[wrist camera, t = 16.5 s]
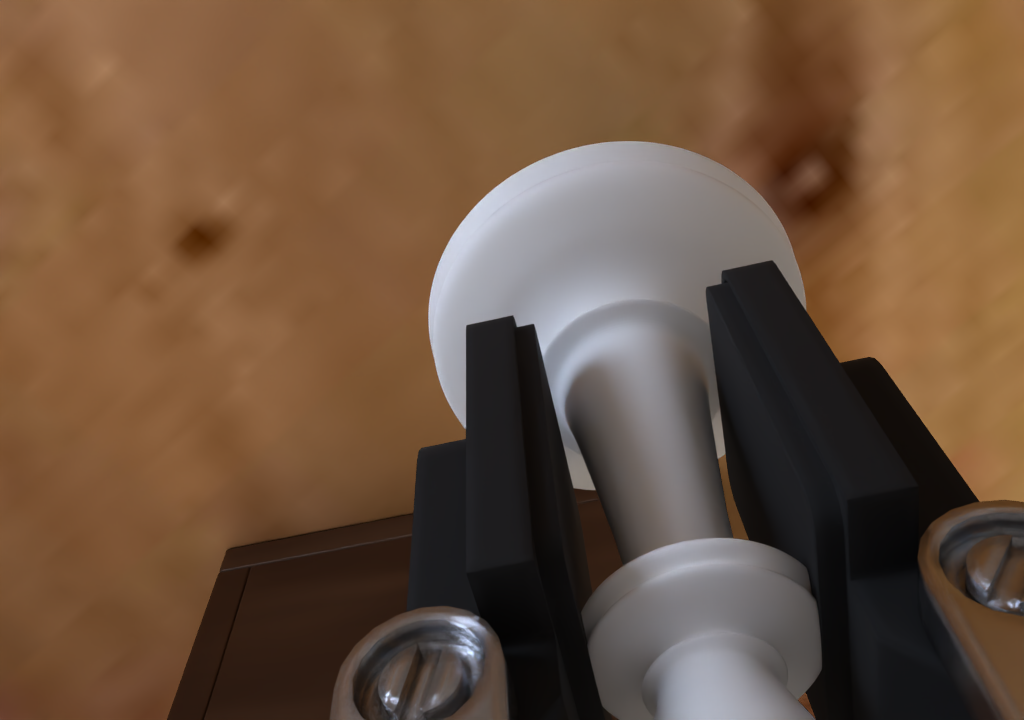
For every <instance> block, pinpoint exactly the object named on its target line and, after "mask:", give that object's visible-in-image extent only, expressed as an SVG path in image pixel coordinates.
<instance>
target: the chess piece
mask: <svg viewBox="0 0 1024 720" xmlns="http://www.w3.org/2000/svg"><path fill="white" fill-rule="evenodd" d="M770 260H773V261H774V263H775V264H776V265H777V267H778V268H779V270H780V271H781V273H782V274H783V276H784V277H785V279H786V281H787V282H788V284H789V285H790V287H791V288H792V290H793V291H794V293H795V295H796V296H797V298H798V299H799V301H800V302H801V304H802V305H803V307H804V309H805V310H806V299H805V291H804V286H803V281H802V277H801V274H800V270H799V267H798V265H797V262H796V259H795V256H794V252H793V249H792V246H791V243H790V241H789V238H788V236H787V234H786V232H785V229H784V228H783V226H782V224H781V222H780V220H779V219H778V217H777V216H776V214H775V213H774V211H773V210H772V208H771V207H770V206H769V204H768V203H767V202H766V201H765V200H764V198H763V197H762V196H761V195H760V194H759V193H758V192H757V191H756V190H755V189H754V188H753V187H752V186H751V185H750V184H748V183H747V182H746V181H745V180H744V179H742V178H741V177H740V176H738V175H737V174H736V173H734V172H733V171H731V170H730V169H728V168H726V167H725V166H723V165H721V164H719V163H717V162H716V161H714V160H711V159H709V158H707V157H705V156H702V155H700V154H697V153H695V152H692V151H689V150H686V149H682V148H678V147H674V146H670V145H665V144H659V143H652V142H640V141H616V142H604V143H597V144H591V145H586V146H581V147H577V148H573V149H569V150H566V151H563V152H560V153H557V154H554V155H551V156H549V157H546V158H544V159H542V160H539V161H537V162H535V163H533V164H531V165H529V166H527V167H525V168H524V169H522V170H520V171H518V172H517V173H515V174H514V175H512V176H511V177H509V178H508V179H506V180H505V181H503V182H502V183H501V184H499V185H498V186H497V187H495V188H494V189H493V190H492V191H491V192H489V193H488V194H487V195H486V196H485V197H484V198H483V199H482V200H481V201H480V202H479V203H478V204H477V205H476V206H475V207H474V208H473V209H472V210H471V211H470V213H469V214H468V215H467V216H466V217H465V219H464V220H463V221H462V222H461V224H460V225H459V227H458V228H457V230H456V231H455V233H454V234H453V236H452V237H451V239H450V241H449V243H448V244H447V246H446V248H445V250H444V252H443V255H442V257H441V259H440V262H439V264H438V267H437V270H436V273H435V276H434V280H433V284H432V288H431V294H430V301H429V314H428V323H429V336H430V342H431V348H432V352H433V356H434V359H435V365H436V369H437V374H438V377H439V381H440V384H441V387H442V389H443V392H444V394H445V397H446V399H447V401H448V403H449V405H450V407H451V408H452V410H453V412H454V413H455V415H456V417H457V418H458V420H459V421H460V422H461V424H462V425H463V426H464V428H465V429H466V325H469V324H474V323H479V322H484V321H488V320H493V319H498V318H502V317H507V316H512V315H513V316H514V318H515V321H516V325H517V327H520V326H525V325H529V324H534V325H535V328H536V332H537V336H538V340H539V345H540V349H541V353H542V357H543V361H544V366H545V370H546V374H547V378H548V383H549V387H550V391H551V395H552V399H553V404H554V408H555V412H556V416H557V421H558V425H559V429H560V433H561V437H562V442H563V446H564V450H565V454H566V459H567V463H568V467H569V471H570V475H571V480H572V484H573V488H576V489H584V490H596V492H597V494H598V497H599V499H600V502H601V505H602V507H603V510H604V513H605V515H606V518H607V521H608V523H609V526H610V528H611V531H612V533H613V536H614V539H615V542H616V545H617V548H618V551H619V555H620V558H621V561H622V564H623V566H622V567H621V568H619V569H618V570H616V571H615V572H614V573H613V574H611V575H610V576H609V577H608V578H607V579H606V580H604V581H603V582H602V583H601V584H600V585H599V587H598V588H597V589H596V590H595V591H594V592H593V594H592V595H591V596H590V598H589V599H588V601H587V602H586V604H585V606H584V608H583V609H582V611H581V615H582V620H583V625H584V629H585V634H586V638H587V642H588V643H587V648H588V652H589V656H590V661H591V665H592V669H593V673H594V677H595V681H596V685H597V688H598V692H599V696H600V700H601V703H602V706H603V707H604V708H605V709H606V710H607V711H608V712H609V713H610V714H612V715H613V716H614V717H616V718H617V719H619V720H816V719H815V718H814V717H813V716H812V715H811V714H810V713H809V712H808V711H807V710H806V708H805V707H804V706H803V705H802V704H801V703H800V702H799V701H798V699H799V698H800V697H801V696H802V695H803V694H804V693H805V692H806V691H807V690H808V689H809V688H810V686H811V685H812V684H813V683H814V681H815V680H816V678H817V677H818V675H819V674H820V672H821V670H822V649H821V635H820V623H819V614H818V607H817V601H816V599H815V598H814V597H813V596H812V592H811V586H810V580H809V575H808V571H807V568H806V567H805V566H804V565H803V564H801V563H800V562H799V561H798V560H796V559H795V558H793V557H791V556H790V555H788V554H786V553H784V552H782V551H780V550H778V549H776V548H773V547H771V546H768V545H765V544H761V543H758V542H753V541H749V540H742V539H733V535H732V530H731V526H730V522H729V518H728V514H727V509H726V504H725V497H724V491H723V486H722V481H721V475H720V470H719V464H718V459H719V458H720V457H722V456H723V455H725V454H726V453H725V445H724V437H723V429H722V421H721V413H720V405H719V397H718V389H717V381H716V374H715V366H714V358H713V350H712V342H711V334H710V326H709V318H708V310H707V302H706V287H709V286H713V285H718V284H721V274H722V271H723V270H728V269H732V268H737V267H742V266H747V265H751V264H756V263H761V262H765V261H770Z"/></svg>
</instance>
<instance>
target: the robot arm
mask: <svg viewBox="0 0 1024 720" xmlns="http://www.w3.org/2000/svg"><path fill="white" fill-rule="evenodd" d="M706 302H707V310H708V318H709V326H710V334H711V342H712V350H713V358H714V366H715V374H716V381H717V389H718V397H719V405H720V413H721V421H722V429H723V437H724V445H725V453H726V461H727V469H728V475H729V481H730V486H731V490H732V494H733V497H734V501H735V504H736V506H737V509H738V512H739V514H740V517H741V520H742V522H743V525H744V528H745V530H746V533H747V536H748V538H749V541H753V542H758V543H761V544H765V545H768V546H771V547H773V548H776V549H778V550H780V551H782V552H784V553H786V554H788V555H790V556H791V557H793V558H795V559H796V560H798V561H799V562H800V563H801V564H803V565H804V566H805V567H806V568H807V571H808V575H809V580H810V586H811V592H812V596H813V597H814V598H815V599H816V601H817V607H818V614H819V623H820V635H821V649H822V670H821V672H820V674H819V675H818V677H817V678H816V680H815V681H814V683H813V684H812V685H811V686H810V688H809V689H808V690H807V691H806V694H807V696H808V699H809V702H810V704H811V707H812V710H813V712H814V715H815V718H816V720H1024V502H1019V501H1010V500H996V501H984V502H979V500H978V499H977V498H976V496H975V495H974V493H973V492H972V491H971V489H970V488H969V486H968V485H967V484H966V482H965V481H964V479H963V478H962V477H961V475H960V474H959V472H958V471H957V470H956V468H955V467H954V465H953V464H952V463H951V461H950V460H949V458H948V457H947V456H946V454H945V453H944V451H943V450H942V449H941V447H940V446H939V445H938V443H937V442H936V440H935V439H934V438H933V436H932V435H931V433H930V432H929V431H928V429H927V428H926V426H925V425H924V424H923V422H922V421H921V419H920V418H919V417H918V415H917V414H916V412H915V411H914V410H913V408H912V407H911V405H910V404H909V403H908V401H907V400H906V398H905V397H904V396H903V394H902V393H901V391H900V390H899V389H898V387H897V386H896V384H895V383H894V382H893V380H892V379H891V377H890V376H889V375H888V373H887V372H886V370H885V369H884V368H883V366H882V365H881V364H880V363H879V362H878V361H877V360H876V359H875V358H871V357H867V358H862V359H857V360H852V361H847V362H842V363H839V361H838V360H837V358H836V357H835V355H834V353H833V352H832V350H831V349H830V347H829V346H828V344H827V343H826V341H825V340H824V338H823V336H822V335H821V333H820V332H819V330H818V329H817V327H816V326H815V324H814V322H813V321H812V319H811V318H810V316H809V315H808V313H807V312H806V310H805V309H804V307H803V305H802V304H801V302H800V301H799V299H798V298H797V296H796V295H795V293H794V291H793V290H792V288H791V287H790V285H789V284H788V282H787V281H786V279H785V277H784V276H783V274H782V273H781V271H780V270H779V268H778V267H777V265H776V264H775V263H774V261H773V260H770V261H765V262H761V263H756V264H751V265H747V266H742V267H737V268H732V269H728V270H723V271H722V274H721V284H718V285H713V286H709V287H706ZM591 595H592V587H591V581H590V575H589V568H588V562H587V555H586V549H585V543H584V536H583V530H582V525H581V520H580V515H579V510H578V505H577V501H576V497H575V492H574V488H573V484H572V480H571V475H570V471H569V467H568V463H567V459H566V454H565V450H564V446H563V442H562V437H561V433H560V429H559V425H558V421H557V416H556V412H555V408H554V404H553V399H552V395H551V391H550V387H549V383H548V378H547V374H546V370H545V366H544V361H543V357H542V353H541V349H540V345H539V340H538V336H537V332H536V328H535V325H534V324H529V325H525V326H520V327H517V325H516V321H515V318H514V316H513V315H512V316H507V317H502V318H498V319H493V320H488V321H484V322H479V323H474V324H469V325H466V439H464V440H459V441H454V442H449V443H444V444H439V445H434V446H429V447H424V448H421V449H420V450H419V453H418V459H417V471H416V485H415V499H414V513H413V527H412V541H411V555H410V569H409V582H408V596H407V610H406V612H405V613H402V614H399V615H396V616H395V617H393V618H391V619H389V620H388V621H386V622H384V623H382V624H380V625H379V626H377V627H375V628H374V629H373V630H371V631H370V632H369V633H368V634H367V635H366V636H365V637H364V638H363V639H362V640H360V641H359V642H358V643H357V644H356V645H355V646H354V648H353V649H352V650H351V652H350V653H349V655H348V656H347V658H346V659H345V661H344V662H343V664H342V665H341V668H340V671H339V674H338V677H337V680H336V683H335V686H334V692H333V699H332V706H331V713H330V720H612V715H611V714H610V713H609V712H608V711H607V710H606V709H605V708H604V707H603V706H602V703H601V700H600V696H599V692H598V688H597V685H596V681H595V677H594V673H593V669H592V665H591V661H590V656H589V652H588V648H587V643H588V642H587V638H586V634H585V629H584V625H583V620H582V615H581V611H582V609H583V608H584V606H585V604H586V602H587V601H588V599H589V598H590V596H591Z"/></svg>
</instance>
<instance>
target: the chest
mask: <svg viewBox="0 0 1024 720" xmlns="http://www.w3.org/2000/svg"><path fill="white" fill-rule="evenodd" d="M574 492H575V497H576V501H577V505H578V510H579V515H580V520H581V525H582V530H583V536H584V543H585V549H586V555H587V562H588V568H589V575H590V581H591V587H592V594H593V592H594V591H595V590H596V589H597V588H598V587H599V585H600V584H601V583H602V582H603V581H604V580H606V579H607V578H608V577H609V576H610V575H611V574H613V573H614V572H615V571H616V570H618V569H619V568H621V567H622V566H623V564H622V561H621V558H620V555H619V551H618V548H617V545H616V542H615V539H614V536H613V533H612V531H611V528H610V526H609V523H608V521H607V518H606V515H605V513H604V510H603V507H602V505H601V502H600V499H599V497H598V494H597V492H596V490H584V489H576V488H574ZM412 527H413V514H411V515H406V516H401V517H395V518H390V519H385V520H380V521H375V522H370V523H364V524H359V525H354V526H349V527H344V528H338V529H333V530H328V531H323V532H318V533H313V534H307V535H302V536H297V537H292V538H287V539H281V540H276V541H271V542H266V543H261V544H256V545H250V546H245V547H240V548H235V549H230V550H227V551H226V554H225V557H224V560H223V562H222V565H221V568H220V573H219V574H218V576H217V579H216V582H215V585H214V588H213V591H212V593H211V596H210V599H209V602H208V605H207V608H206V610H205V613H204V616H203V619H202V622H201V625H200V627H199V630H198V633H197V636H196V639H195V642H194V645H193V647H192V650H191V653H190V656H189V659H188V662H187V664H186V667H185V670H184V673H183V676H182V679H181V681H180V684H179V687H178V690H177V693H176V696H175V698H174V701H173V704H172V707H171V710H170V713H169V715H168V718H167V720H330V713H331V706H332V699H333V692H334V686H335V683H336V680H337V677H338V674H339V671H340V668H341V665H342V664H343V662H344V661H345V659H346V658H347V656H348V655H349V653H350V652H351V650H352V649H353V648H354V646H355V645H356V644H357V643H358V642H359V641H360V640H362V639H363V638H364V637H365V636H366V635H367V634H368V633H369V632H370V631H371V630H373V629H374V628H375V627H377V626H379V625H380V624H382V623H384V622H386V621H388V620H389V619H391V618H393V617H395V616H396V615H399V614H402V613H405V612H406V610H407V596H408V582H409V569H410V555H411V541H412ZM611 715H612V714H611ZM612 720H619V719H617V718H616V717H614V716H613V715H612Z"/></svg>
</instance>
